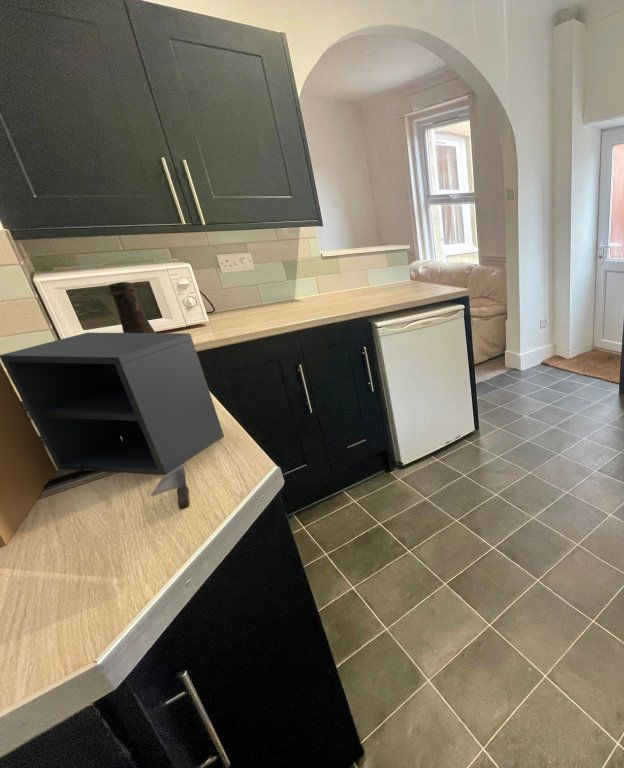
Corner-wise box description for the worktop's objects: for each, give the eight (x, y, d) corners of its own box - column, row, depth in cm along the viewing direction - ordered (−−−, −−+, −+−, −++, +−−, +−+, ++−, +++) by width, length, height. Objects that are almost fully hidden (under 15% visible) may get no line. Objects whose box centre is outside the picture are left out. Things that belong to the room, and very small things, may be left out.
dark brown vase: (213, 378, 120) (181, 278, 109) (141, 402, 105) (96, 290, 95) (176, 370, 127) (143, 276, 117) (104, 392, 112) (58, 286, 102)
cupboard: (166, 475, 75) (118, 357, 66) (58, 469, 78) (-2, 355, 69) (224, 436, 88) (190, 333, 79) (130, 432, 90) (87, 332, 82)
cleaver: (151, 471, 75) (185, 461, 78) (153, 477, 76) (187, 466, 79) (148, 515, 64) (188, 501, 66) (151, 521, 64) (191, 507, 67)
